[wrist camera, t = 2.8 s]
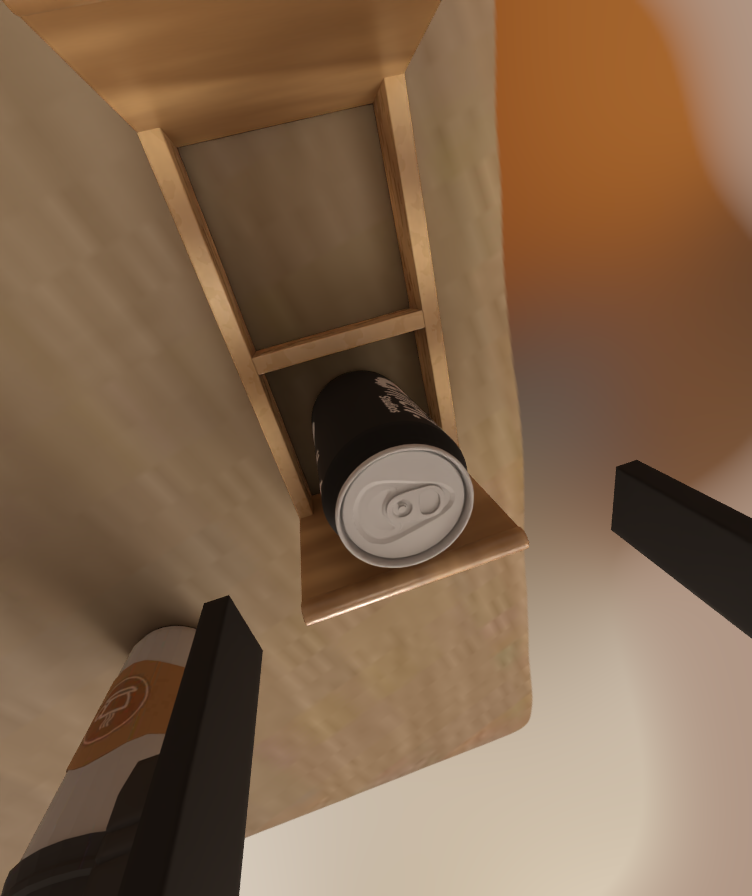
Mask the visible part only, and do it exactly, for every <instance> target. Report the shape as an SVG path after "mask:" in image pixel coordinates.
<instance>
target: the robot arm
mask: <svg viewBox="0 0 752 896" xmlns="http://www.w3.org/2000/svg"><path fill="white" fill-rule="evenodd" d="M611 530H612V531H613V532H615V533H616V534H617V535H619V536H620V537H621V538H623V539H624V540H625V541H626V542H628V543H629V544H630V545H632V546H633V547H634V548H635V549H637V550H638V551H639V552H640V553H642V554H643V555H644V556H646V557H647V558H648V559H650V560H651V561H652V562H654V563H655V564H656V565H657V566H659V567H660V568H661V569H663V570H664V571H665V572H666V573H668V574H669V575H670V576H672V577H673V578H674V579H676V580H677V581H678V582H679V583H681V584H682V585H683V586H684V587H686V588H687V589H689V590H690V591H691V592H692V593H693V594H695V595H696V596H697V597H699V598H700V599H701V600H703V601H704V602H705V603H706V604H708V605H709V606H710V607H712V608H713V609H714V610H715V611H717V612H718V613H719V614H721V615H722V616H724V617H725V618H726V619H727V620H728V621H730V622H731V623H732V624H734V625H735V626H736V627H737V628H739V629H740V630H741V631H743V632H744V633H745V634H747V635H748V636H749V637H750V638H752V518H750V517H748V516H746V515H744V514H742V513H740V512H738V511H736V510H734V509H732V508H731V507H729V506H727V505H725V504H723V503H721V502H719V501H717V500H715V499H713V498H711V497H709V496H707V495H705V494H703V493H701V492H699V491H697V490H695V489H693V488H691V487H689V486H687V485H685V484H683V483H681V482H679V481H677V480H675V479H673V478H671V477H670V476H668V475H666V474H663V473H662V472H660V471H658V470H656V469H654V468H652V467H650V466H648V465H646V464H644V463H642V462H640V461H638V460H635V461H632V462H630V463H626V464H624V465H620V466H617V467H616V477H615V489H614V502H613V514H612V527H611ZM262 652H263V650H262V649H261V647H260V645H259V644H258V642H257V640H256V639H255V637H254V635H253V634H252V632H251V631H250V629H249V627H248V626H247V624H246V622H245V621H244V619H243V617H242V616H241V614H240V612H239V611H238V609H237V608H236V606H235V604H234V603H233V601H232V599H231V598H230V596H229V595H228V596H225V597H222V598H219V599H216V600H213V601H210V602H207V603H204V605H203V609H202V612H201V615H200V619H199V622H198V626H197V629H196V632H195V636H194V639H193V642H192V646H191V649H190V652H189V656H188V659H187V663H186V666H185V669H184V673H183V676H182V679H181V683H180V686H179V690H178V693H177V696H176V700H175V703H174V706H173V710H172V713H171V716H170V720H169V723H168V727H167V730H166V733H165V737H164V740H163V743H162V747H161V750H160V754H157V755H154V756H152V757H149V758H146V759H143V760H140V761H138V762H137V764H136V765H135V767H134V769H133V770H132V772H131V774H130V775H129V777H128V779H127V780H126V782H125V784H124V785H123V787H122V789H121V790H120V792H119V794H118V796H117V799H116V802H115V805H114V808H113V810H112V813H111V816H110V819H109V822H108V824H107V827H106V835H105V836H104V837H103V839H102V841H101V844H100V847H99V850H98V853H97V856H96V858H95V861H96V863H95V866H94V868H92V870H91V872H90V875H89V878H88V881H87V884H86V887H85V889H84V892H83V895H82V896H239V890H240V879H241V869H242V859H243V849H244V838H245V828H246V818H247V807H248V797H249V787H250V776H251V766H252V756H253V745H254V735H255V725H256V714H257V704H258V694H259V683H260V673H261V663H262Z"/></svg>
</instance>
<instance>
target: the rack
mask: <svg viewBox="0 0 752 896" xmlns="http://www.w3.org/2000/svg"><path fill="white" fill-rule="evenodd" d="M2 1H3V2H4V3H5V5H6V6H7V7H8V8H9V9H10V10H11V11H12V12H13V13H14V14H15V15H17V16H20V17H21V18H22V19H23V20H24V21H25V22H26V23H27V24H28V25H29V26H30V27H31V28H32V29H33V30H34V31H35V32H36V33H37V34H38V35H39V36H40V37H41V38H42V39H43V40H44V41H45V42H46V43H47V44H48V45H49V46H50V47H51V48H52V49H53V50H54V51H55V52H56V53H57V54H58V55H59V56H60V57H61V58H62V59H63V60H64V61H65V62H66V63H67V64H68V65H69V66H70V67H71V68H72V69H73V70H74V71H75V72H76V73H77V74H78V75H79V76H80V77H81V78H82V79H83V80H84V81H85V82H86V83H87V84H88V85H89V86H90V87H92V88H93V89H94V90H95V91H96V92H97V93H98V94H99V95H100V96H101V97H102V98H103V99H104V100H105V101H106V102H107V103H108V104H109V105H110V106H111V107H112V108H113V109H114V110H115V111H116V112H117V113H118V114H119V115H120V116H121V117H122V118H123V119H124V120H125V121H126V122H127V123H128V124H129V125H130V126H131V127H132V128H133V129H134V130H135V131H136V132H137V134H138V137H139V139H140V142H141V144H142V146H143V149H144V151H145V153H146V156H147V158H148V160H149V163H150V165H151V168H152V170H153V172H154V175H155V177H156V179H157V182H158V184H159V187H160V189H161V191H162V194H163V196H164V198H165V201H166V203H167V205H168V208H169V210H170V213H171V215H172V217H173V220H174V222H175V224H176V227H177V229H178V232H179V234H180V236H181V239H182V241H183V243H184V246H185V248H186V251H187V253H188V255H189V258H190V260H191V262H192V265H193V267H194V269H195V272H196V274H197V277H198V279H199V281H200V284H201V286H202V288H203V291H204V293H205V296H206V298H207V300H208V303H209V305H210V307H211V310H212V312H213V314H214V317H215V319H216V322H217V324H218V326H219V329H220V331H221V333H222V336H223V338H224V341H225V343H226V345H227V348H228V350H229V352H230V355H231V357H232V359H233V362H234V364H235V367H236V369H237V371H238V374H239V376H240V378H241V381H242V383H243V386H244V388H245V390H246V393H247V395H248V397H249V400H250V402H251V405H252V407H253V409H254V412H255V414H256V416H257V419H258V421H259V423H260V426H261V428H262V431H263V433H264V435H265V438H266V440H267V442H268V445H269V447H270V450H271V452H272V454H273V457H274V459H275V461H276V464H277V466H278V468H279V471H280V473H281V476H282V478H283V480H284V483H285V485H286V487H287V490H288V492H289V495H290V497H291V499H292V502H293V504H294V506H295V509H296V511H297V513H298V516H299V518H300V545H301V585H302V602H301V610H302V615H303V619H304V621H305V623H306V625H307V626H309V625H312V624H315V623H317V622H320V621H323V620H326V619H329V618H332V617H334V616H337V615H340V614H343V613H346V612H349V611H351V610H354V609H357V608H360V607H363V606H366V605H368V604H371V603H374V602H377V601H380V600H383V599H386V598H388V597H391V596H394V595H397V594H400V593H403V592H405V591H408V590H411V589H414V588H417V587H420V586H422V585H425V584H428V583H431V582H434V581H437V580H439V579H442V578H445V577H448V576H451V575H454V574H456V573H459V572H462V571H465V570H468V569H471V568H474V567H476V566H479V565H482V564H485V563H488V562H491V561H493V560H496V559H499V558H502V557H505V556H508V555H510V554H513V553H516V552H519V551H522V550H525V549H527V548H529V541H528V538H527V536H526V534H525V532H524V531H523V529H522V528H521V527H518V526H517V525H516V524H515V523H514V521H513V520H512V519H511V518H510V517H509V516H508V515H507V514H506V513H505V512H504V511H503V510H502V509H501V508H500V507H499V505H498V504H497V503H496V502H495V501H494V500H493V499H492V498H491V497H490V496H489V495H488V494H487V493H486V492H485V491H484V489H483V488H482V487H481V486H480V485H479V484H478V483H477V482H476V481H475V480H474V479H473V478H472V477H471V476H470V475H469V476H470V479H471V481H472V485H473V491H474V503H473V509H472V512H471V516H470V518H469V520H468V523H467V525H466V526H465V528H464V530H463V531H462V533H461V534H460V535H459V537H458V538H457V539H456V540H455V541H454V542H453V543H452V544H451V545H450V546H449V547H448V548H447V549H445V550H444V551H442V552H441V553H439V554H438V555H436V556H435V557H433V558H431V559H429V560H427V561H425V562H422V563H419V564H416V565H412V566H408V567H401V568H387V567H379V566H375V565H371V564H368V563H366V562H364V561H362V560H360V559H358V558H357V557H356V556H354V555H353V554H352V553H351V552H350V551H349V550H348V549H347V548H346V547H345V545H344V544H343V542H342V541H341V539H340V537H339V536H338V535H337V534H336V532H335V531H334V530H333V529H332V527H331V526H330V524H329V523H328V521H327V519H326V517H325V514H324V511H323V507H322V500H321V493H319V494H316V495H313V496H312V495H311V492H310V490H309V487H308V484H307V482H306V479H305V477H304V474H303V472H302V469H301V466H300V464H299V461H298V459H297V456H296V454H295V451H294V448H293V446H292V443H291V441H290V438H289V435H288V433H287V430H286V428H285V425H284V423H283V420H282V417H281V415H280V412H279V410H278V407H277V405H276V402H275V399H274V397H273V394H272V392H271V389H270V386H269V384H268V381H267V379H266V376H265V374H264V373H268V372H271V371H275V370H278V369H282V368H285V367H289V366H292V365H296V364H299V363H303V362H306V361H310V360H313V359H317V358H320V357H324V356H327V355H331V354H334V353H338V352H341V351H345V350H348V349H352V348H355V347H358V346H362V345H365V344H369V343H372V342H376V341H379V340H383V339H386V338H390V337H393V336H397V335H400V334H404V333H407V332H411V331H414V333H415V338H416V344H417V349H418V355H419V360H420V366H421V371H422V377H423V382H424V388H425V393H426V399H427V404H428V410H429V416H430V418H431V419H432V420H433V421H434V422H435V423H436V424H437V425H438V426H439V427H440V428H441V429H442V430H443V431H444V432H445V433H446V434H447V435H448V436H449V437H451V438H452V440H453V441H454V442H455V443H456V444H457V446H458V447H459V443H458V436H457V429H456V422H455V415H454V409H453V402H452V395H451V388H450V381H449V374H448V368H447V361H446V354H445V347H444V340H443V333H442V327H441V320H440V313H439V306H438V299H437V292H436V286H435V279H434V272H433V265H432V258H431V251H430V245H429V238H428V231H427V224H426V217H425V210H424V204H423V197H422V190H421V183H420V176H419V169H418V163H417V156H416V149H415V142H414V135H413V128H412V122H411V115H410V108H409V101H408V94H407V87H406V81H405V74H404V72H405V70H406V69H407V67H408V65H409V63H410V61H411V59H412V57H413V55H414V53H415V51H416V49H417V47H418V45H419V43H420V41H421V39H422V37H423V35H424V33H425V32H426V30H427V28H428V26H429V24H430V22H431V20H432V18H433V16H434V14H435V12H436V10H437V8H438V6H439V4H440V2H441V0H2ZM371 103H373V106H374V112H375V117H376V123H377V128H378V134H379V139H380V145H381V150H382V156H383V162H384V167H385V173H386V178H387V184H388V189H389V195H390V200H391V206H392V211H393V217H394V222H395V228H396V233H397V239H398V244H399V250H400V255H401V261H402V266H403V272H404V277H405V283H406V289H407V294H408V300H409V305H410V308H407V309H404V310H400V311H396V312H393V313H389V314H386V315H382V316H379V317H375V318H371V319H368V320H364V321H361V322H357V323H354V324H350V325H346V326H343V327H339V328H336V329H332V330H329V331H325V332H322V333H318V334H314V335H311V336H307V337H304V338H300V339H297V340H293V341H289V342H286V343H282V344H279V345H275V346H272V347H268V348H265V349H261V350H257V351H256V350H255V348H254V345H253V343H252V340H251V337H250V335H249V332H248V330H247V327H246V325H245V322H244V319H243V317H242V314H241V312H240V309H239V307H238V304H237V301H236V299H235V296H234V294H233V291H232V289H231V286H230V283H229V281H228V278H227V276H226V273H225V270H224V268H223V265H222V263H221V260H220V258H219V255H218V252H217V250H216V247H215V245H214V242H213V240H212V237H211V234H210V232H209V229H208V227H207V224H206V221H205V219H204V216H203V214H202V211H201V209H200V206H199V203H198V201H197V198H196V196H195V193H194V191H193V188H192V185H191V183H190V180H189V178H188V175H187V172H186V170H185V167H184V165H183V162H182V160H181V157H180V154H179V152H178V149H177V147H181V146H186V145H190V144H195V143H199V142H203V141H208V140H212V139H217V138H221V137H226V136H230V135H234V134H239V133H243V132H248V131H252V130H256V129H261V128H265V127H270V126H274V125H279V124H283V123H287V122H292V121H296V120H301V119H305V118H309V117H314V116H318V115H323V114H327V113H331V112H336V111H340V110H345V109H349V108H354V107H358V106H362V105H367V104H371ZM468 474H469V473H468Z"/></svg>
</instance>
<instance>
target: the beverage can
mask: <svg viewBox="0 0 752 896" xmlns="http://www.w3.org/2000/svg"><path fill="white" fill-rule="evenodd" d="M312 429H313V437H314V445H315V453H316V461H317V469H318V476H319V484H320V492H321V500H322V507H323V511H324V514H325V517H326V519H327V521H328V523H329V524H330V526H331V527H332V529H333V530H334V531H335V532H336V534H337V535H338V536H339V537H340V539H341V541H342V542H343V544H344V545H345V547H346V548H347V549H348V550H349V551H350V552H351V553H352V554H353V555H354V556H356V557H357V558H358V559H360V560H362V561H364V562H366V563H368V564H371V565H375V566H379V567H387V568H401V567H408V566H412V565H416V564H419V563H422V562H425V561H427V560H429V559H431V558H433V557H435V556H436V555H438V554H439V553H441V552H442V551H444V550H445V549H447V548H448V547H449V546H450V545H451V544H452V543H453V542H454V541H455V540H456V539H457V538H458V537H459V535H460V534H461V533H462V531H463V530H464V528H465V526H466V525H467V523H468V520H469V518H470V516H471V512H472V509H473V503H474V491H473V485H472V481H471V479H470V476H469V474H468V472H467V466H466V462H465V459H464V457H463V454H462V452H461V450H460V449H459V447H458V446H457V444H456V443H455V442H454V441H453V440H452V438H451V437H449V436H448V435H447V434H446V433H445V432H444V431H443V430H442V429H441V428H440V427H439V426H438V425H437V424H436V423H435V422H434V421H433V420H432V419H431V418H430V417H429V416H428V415H427V414H426V413H425V412H423V411H422V410H421V409H420V408H419V407H418V406H417V405H416V404H415V403H414V402H413V401H412V400H411V399H410V398H409V397H408V396H407V395H406V394H405V393H404V392H403V391H402V390H401V389H400V388H399V387H398V386H396V385H395V384H394V383H393V382H392V381H391V380H390V379H388V378H387V377H385V376H383V375H381V374H378V373H375V372H370V371H354V372H349V373H346V374H343V375H341V376H339V377H337V378H335V379H334V380H332V381H331V382H330V383H328V384H327V385H326V386H325V387H324V388H323V390H322V391H321V392H320V394H319V395H318V397H317V399H316V401H315V404H314V407H313V411H312Z"/></svg>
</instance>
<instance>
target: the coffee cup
mask: <svg viewBox="0 0 752 896" xmlns="http://www.w3.org/2000/svg"><path fill="white" fill-rule="evenodd" d="M195 632H196V629H194V628H190V627H185V626H170V627H164V628H160V629H157V630H155V631H153V632H151V633H149V634H148V635H146V636H145V637H144V638H143V639H142V640H140V641H139V642H138V643H137V644H136V645H135V646H134V647H133V649H132V651H131V652H130V654H129V656H128V658H127V660H126V662H125V664H124V666H123V668H122V670H121V671H120V673H119V675H118V677H117V678H116V679H115V681H114V682H113V684H112V686H111V688H110V690H109V691H108V693H107V695H106V697H105V699H104V701H103V703H102V705H101V706H100V708H99V710H98V712H97V714H96V716H95V718H94V719H93V721H92V723H91V725H90V727H89V729H88V731H87V733H86V734H85V736H84V738H83V740H82V742H81V744H80V746H79V748H78V749H77V751H76V753H75V755H74V757H73V759H72V761H71V762H70V764H69V766H68V768H67V771H66V773H67V774H66V775H65V777H64V779H63V781H62V783H61V785H60V787H59V789H58V791H57V792H56V794H55V796H54V798H53V800H52V802H51V804H50V806H49V808H48V809H47V811H46V813H45V815H44V817H43V819H42V821H41V823H40V825H39V826H38V828H37V830H36V832H35V834H34V836H33V838H32V840H31V842H30V843H29V845H28V847H27V849H26V851H25V853H24V855H23V857H22V859H21V860H20V862H19V863H18V864H17V865H16V866H15V867H14V868H13V869H12V870H11V871H10V872H9V874H8V877H7V879H6V881H5V883H4V887H3V891H2V894H1V896H82V895H83V892H84V889H85V887H86V884H87V881H88V878H89V875H90V872H91V870H92V868H94V866H95V863H96V861H95V858H96V856H97V853H98V850H99V847H100V844H101V841H102V839H103V837H104V836H105V835H106V827H107V824H108V822H109V819H110V816H111V813H112V810H113V808H114V805H115V802H116V799H117V796H118V794H119V792H120V790H121V789H122V787H123V785H124V784H125V782H126V780H127V779H128V777H129V775H130V774H131V772H132V770H133V769H134V767H135V765H136V764H137V762H138V761H140V760H143V759H146V758H149V757H152V756H154V755H157V754H160V750H161V747H162V743H163V740H164V737H165V733H166V730H167V727H168V723H169V720H170V716H171V713H172V710H173V706H174V703H175V700H176V696H177V693H178V690H179V686H180V683H181V679H182V676H183V673H184V669H185V666H186V663H187V659H188V656H189V652H190V649H191V646H192V642H193V639H194V636H195Z"/></svg>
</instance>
